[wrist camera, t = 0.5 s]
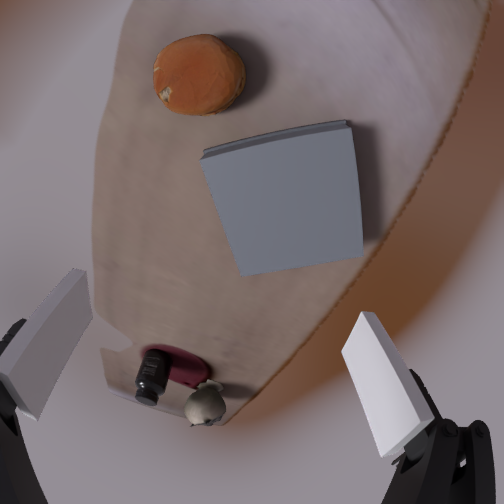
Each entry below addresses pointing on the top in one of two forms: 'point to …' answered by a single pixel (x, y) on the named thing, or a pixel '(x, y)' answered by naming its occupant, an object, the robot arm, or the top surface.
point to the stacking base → (288, 197)
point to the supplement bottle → (153, 376)
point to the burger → (198, 75)
